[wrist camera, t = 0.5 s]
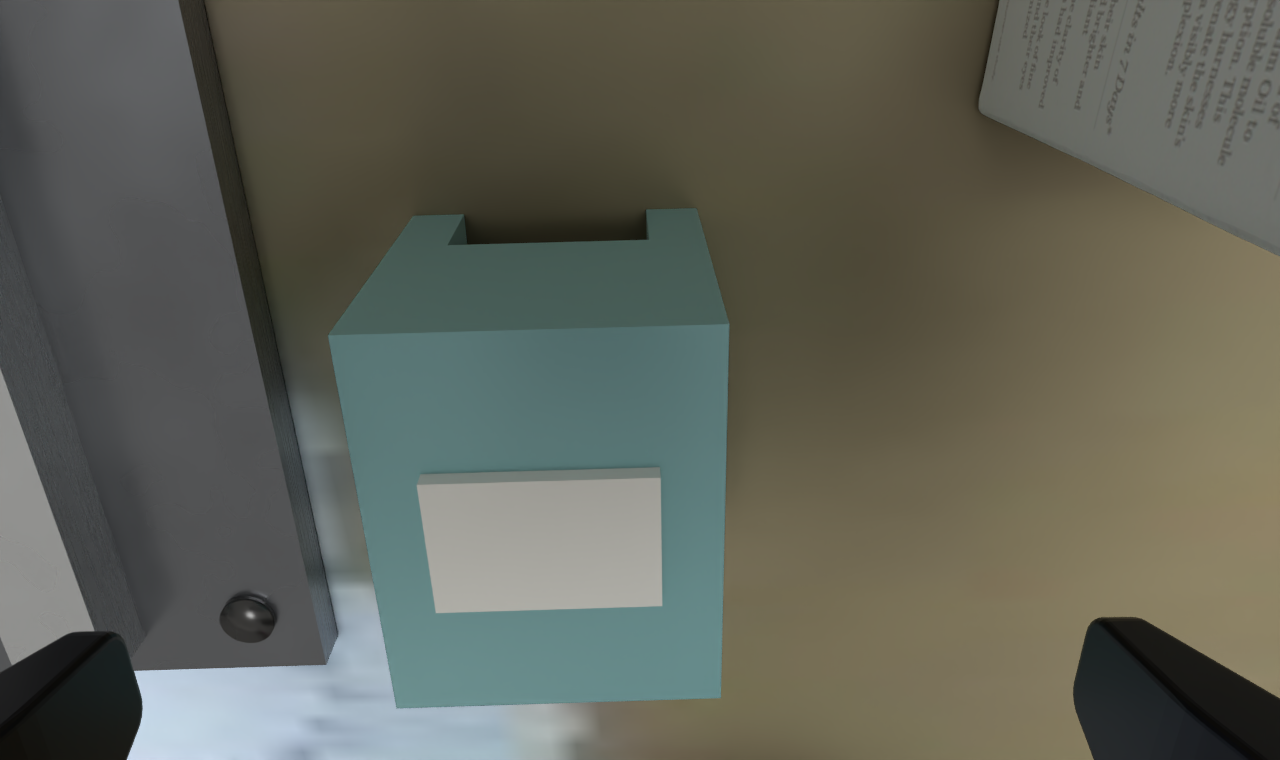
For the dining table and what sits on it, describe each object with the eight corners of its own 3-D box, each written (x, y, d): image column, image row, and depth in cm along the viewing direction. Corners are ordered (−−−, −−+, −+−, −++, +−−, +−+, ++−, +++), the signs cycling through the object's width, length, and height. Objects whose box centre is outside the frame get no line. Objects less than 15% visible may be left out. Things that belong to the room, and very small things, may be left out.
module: (694, 504, 21) (722, 711, 16) (452, 511, 21) (393, 721, 16) (696, 207, 18) (731, 332, 13) (413, 215, 18) (320, 344, 13)
